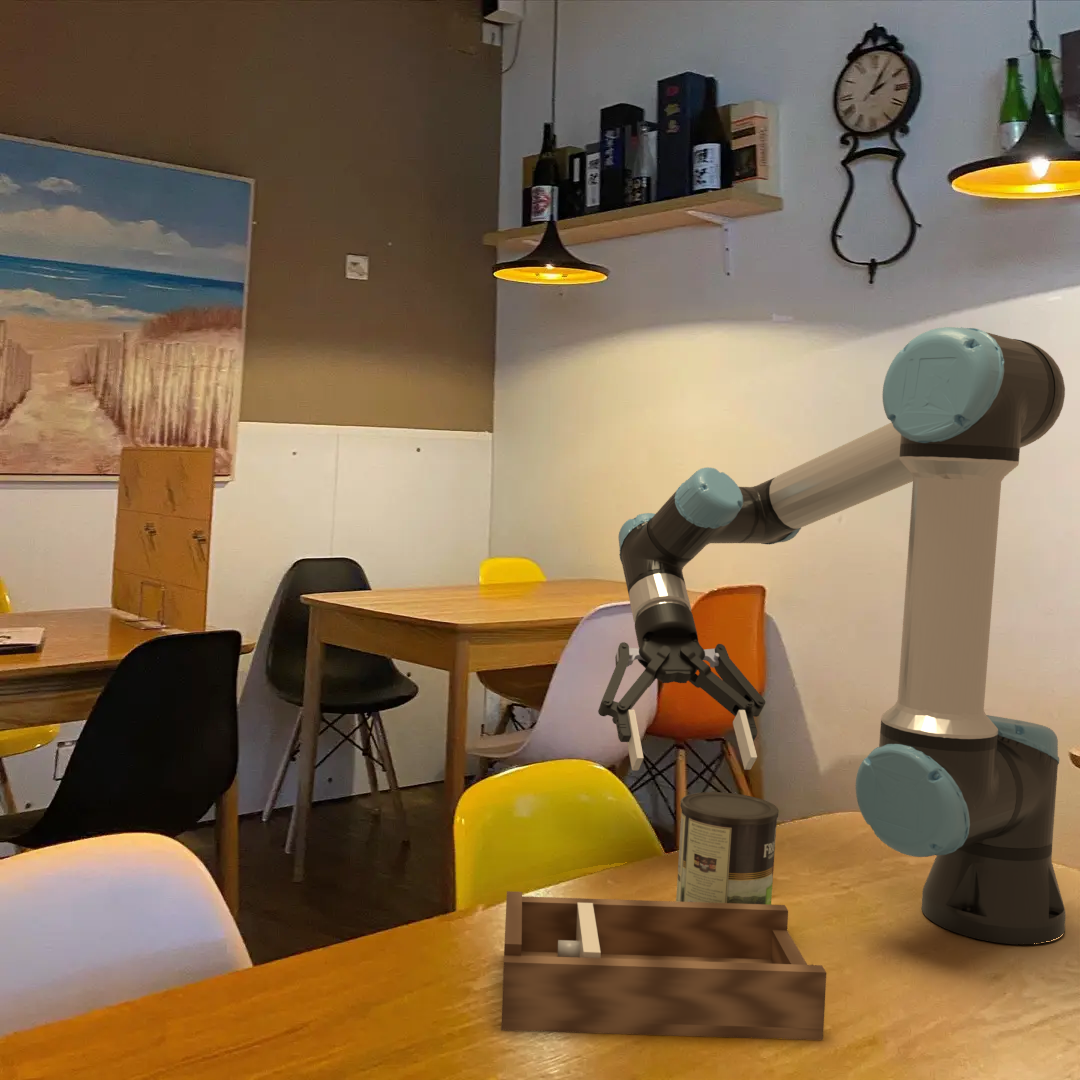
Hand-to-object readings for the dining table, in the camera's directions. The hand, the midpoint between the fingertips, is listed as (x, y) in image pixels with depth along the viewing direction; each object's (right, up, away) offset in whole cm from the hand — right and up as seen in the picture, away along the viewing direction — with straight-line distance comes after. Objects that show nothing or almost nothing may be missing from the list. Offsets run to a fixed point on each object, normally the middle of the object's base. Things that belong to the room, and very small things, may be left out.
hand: (694, 764), depth 132 cm
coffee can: (+1, -17, -9) cm, 19 cm away
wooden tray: (-7, -17, -25) cm, 31 cm away
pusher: (-15, -15, -25) cm, 32 cm away
